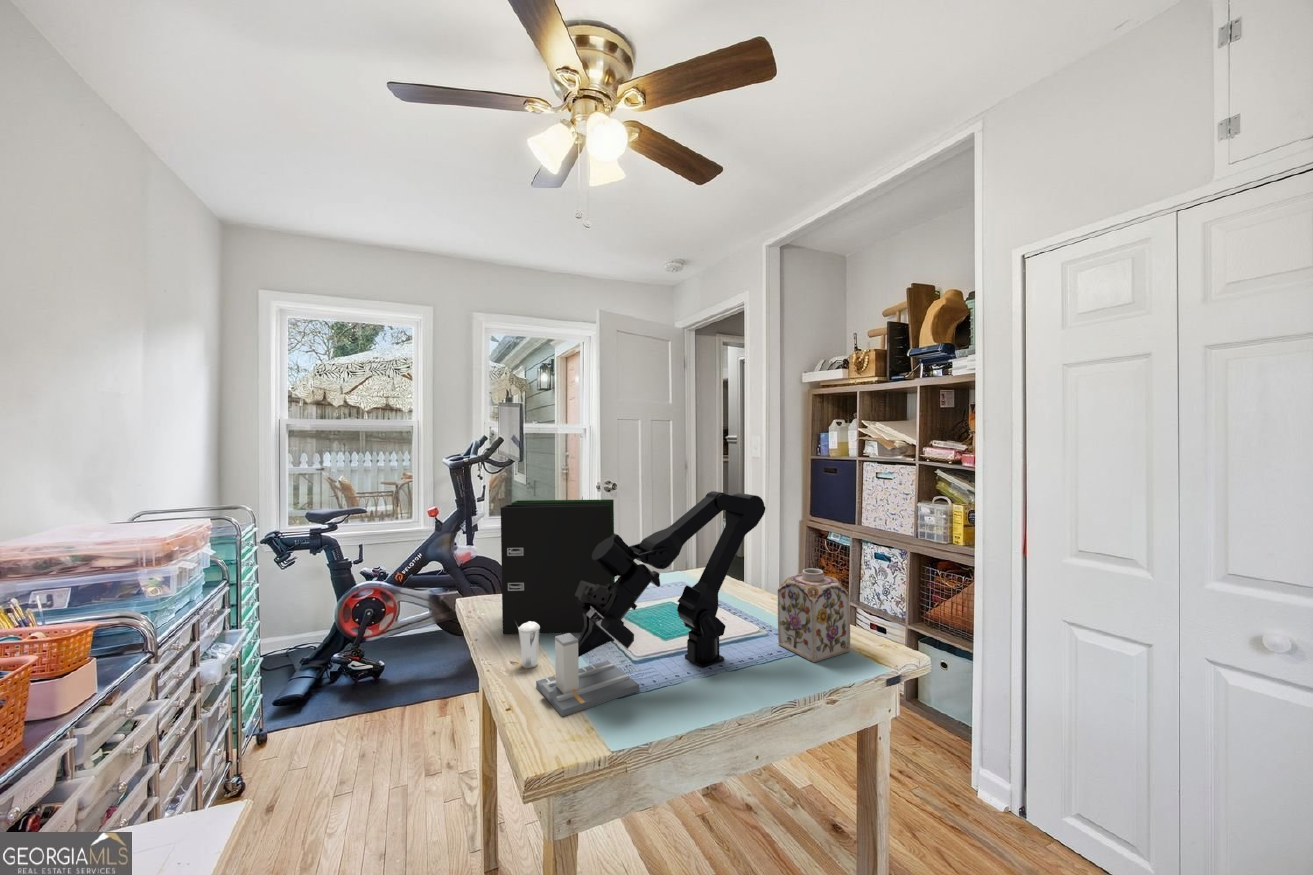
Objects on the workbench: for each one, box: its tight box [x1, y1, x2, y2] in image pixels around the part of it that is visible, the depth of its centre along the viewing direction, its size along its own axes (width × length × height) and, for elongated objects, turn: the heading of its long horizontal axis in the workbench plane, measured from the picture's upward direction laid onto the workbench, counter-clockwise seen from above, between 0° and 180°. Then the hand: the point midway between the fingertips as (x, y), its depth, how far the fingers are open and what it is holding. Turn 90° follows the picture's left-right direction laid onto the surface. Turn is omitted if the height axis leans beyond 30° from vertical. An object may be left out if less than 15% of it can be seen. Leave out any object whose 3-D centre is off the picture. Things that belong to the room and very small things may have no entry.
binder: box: [500, 499, 616, 636], centre depth 135 cm, size 27×15×32 cm, turn 89°
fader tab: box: [554, 633, 580, 694], centre depth 98 cm, size 3×4×10 cm
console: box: [535, 660, 640, 717], centre depth 100 cm, size 17×13×3 cm
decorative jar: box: [777, 568, 851, 663], centre depth 117 cm, size 12×12×18 cm
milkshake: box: [515, 620, 540, 669], centre depth 111 cm, size 4×5×10 cm
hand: (575, 655), depth 99 cm, fingers closed
